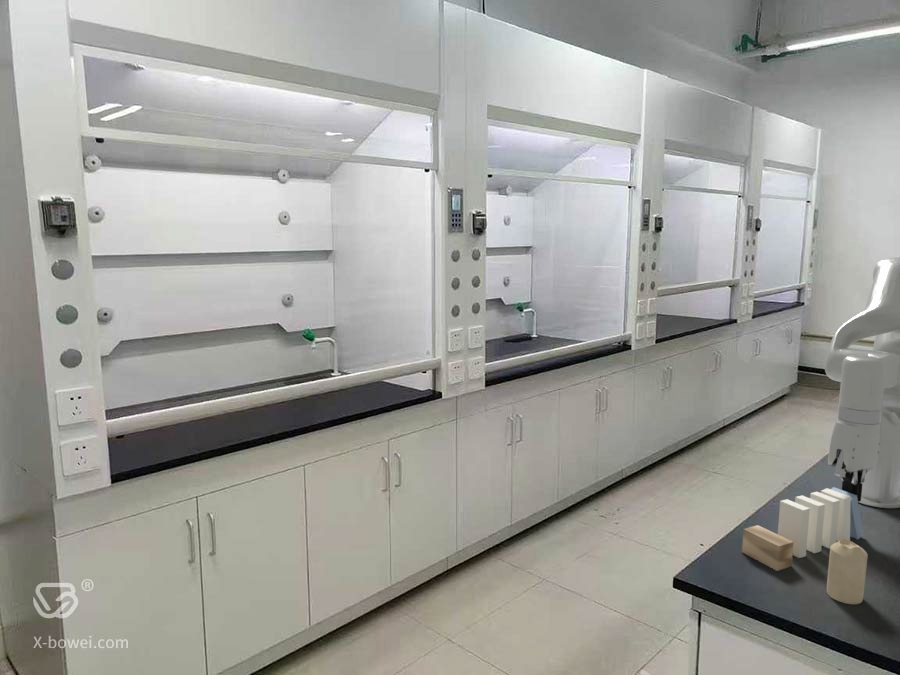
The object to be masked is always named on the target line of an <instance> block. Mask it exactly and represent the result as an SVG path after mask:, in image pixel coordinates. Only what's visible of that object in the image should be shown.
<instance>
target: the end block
mask: <svg viewBox="0 0 900 675" xmlns="http://www.w3.org/2000/svg"><path fill="white" fill-rule="evenodd" d="M742 532H743V533H742V546H741V553H742V554H744V555H746V556H748V557H750V558H752V559H754V560H756V561H757V560H758V562H759V563H762V564H764V566H766V567H769V568H771V569H772V568H773V570H775V571H781V570H785V569H789V568H791V567H792V564H793V555H792V554H793V541H790V540H788V539H786V538H784V537H782V536H780V535H778V533H776V532H773V531H771V530H769V529H767V528H765V527H762V526H761V525H757V524H756V525H753V526H749V527H746V528H743V531H742Z"/></svg>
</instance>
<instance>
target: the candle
mask: <svg viewBox="0 0 900 675" xmlns="http://www.w3.org/2000/svg"><path fill="white" fill-rule="evenodd" d="M868 555H869V554H868V553H867V551H866V550H865V549H864V548H863V547H861V546H859V545H858V544H856V543H855V542H853V541H851V540H850V541H848V540H846V539H842V540H840V541H836V543H834V544H833V545H831V547H830V549H829V557H828V558H829V559H828V568H827V578H826V579H827V581H826V593H827V595H828V596H829V598H831V599H833V600H835V601H837V602H839V603H842V604H847V605H859V604H861V603H862V602H863V600H864V593H865V583H866V575H867V574H866V573H867V566H868V565H867V563H868Z"/></svg>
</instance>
